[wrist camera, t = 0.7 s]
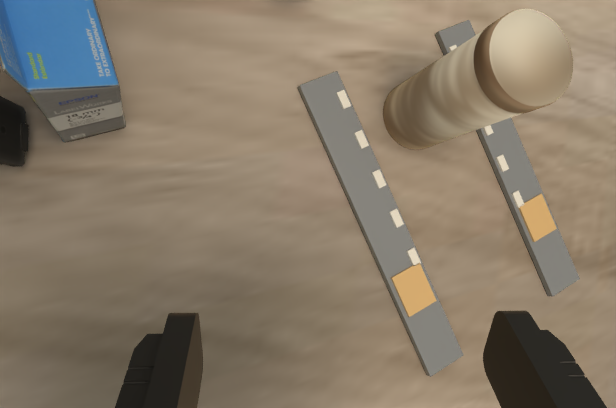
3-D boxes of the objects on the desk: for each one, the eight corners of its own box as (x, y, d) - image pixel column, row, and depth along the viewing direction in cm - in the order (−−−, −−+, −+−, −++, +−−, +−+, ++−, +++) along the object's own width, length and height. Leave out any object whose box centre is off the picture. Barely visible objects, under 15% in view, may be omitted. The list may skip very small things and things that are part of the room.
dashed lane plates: (297, 87, 34) (300, 84, 33) (465, 22, 39) (470, 18, 38) (426, 374, 35) (432, 377, 34) (574, 278, 40) (581, 278, 39)
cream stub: (371, 96, 36) (475, 25, 24) (427, 72, 37) (549, -5, 26) (400, 161, 36) (516, 121, 25) (454, 135, 38) (587, 86, 26)
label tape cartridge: (130, 129, 31) (117, 56, 19) (62, 144, 29) (3, 76, 18) (88, -10, 30) (50, -171, 19) (18, -1, 29) (-69, -167, 18)
